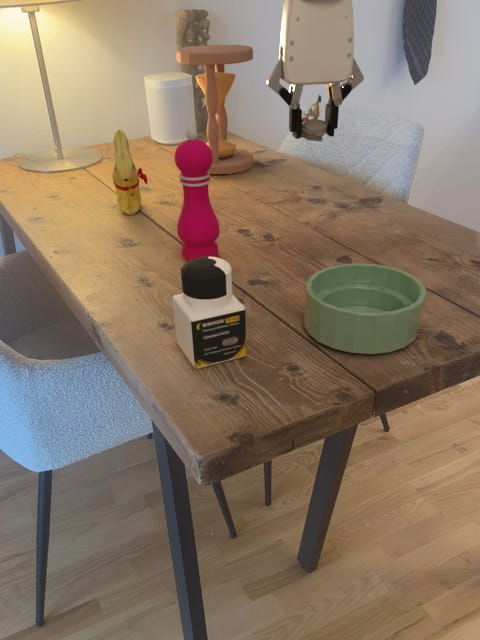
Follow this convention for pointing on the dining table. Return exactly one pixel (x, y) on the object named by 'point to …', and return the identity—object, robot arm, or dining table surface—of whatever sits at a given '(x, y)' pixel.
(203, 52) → the hourglass
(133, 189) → the chocolate bunny
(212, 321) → the medicine bottle
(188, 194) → the pepper mill
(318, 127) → the figurine
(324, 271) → the bowl
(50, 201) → the dining table surface
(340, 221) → the dining table surface
